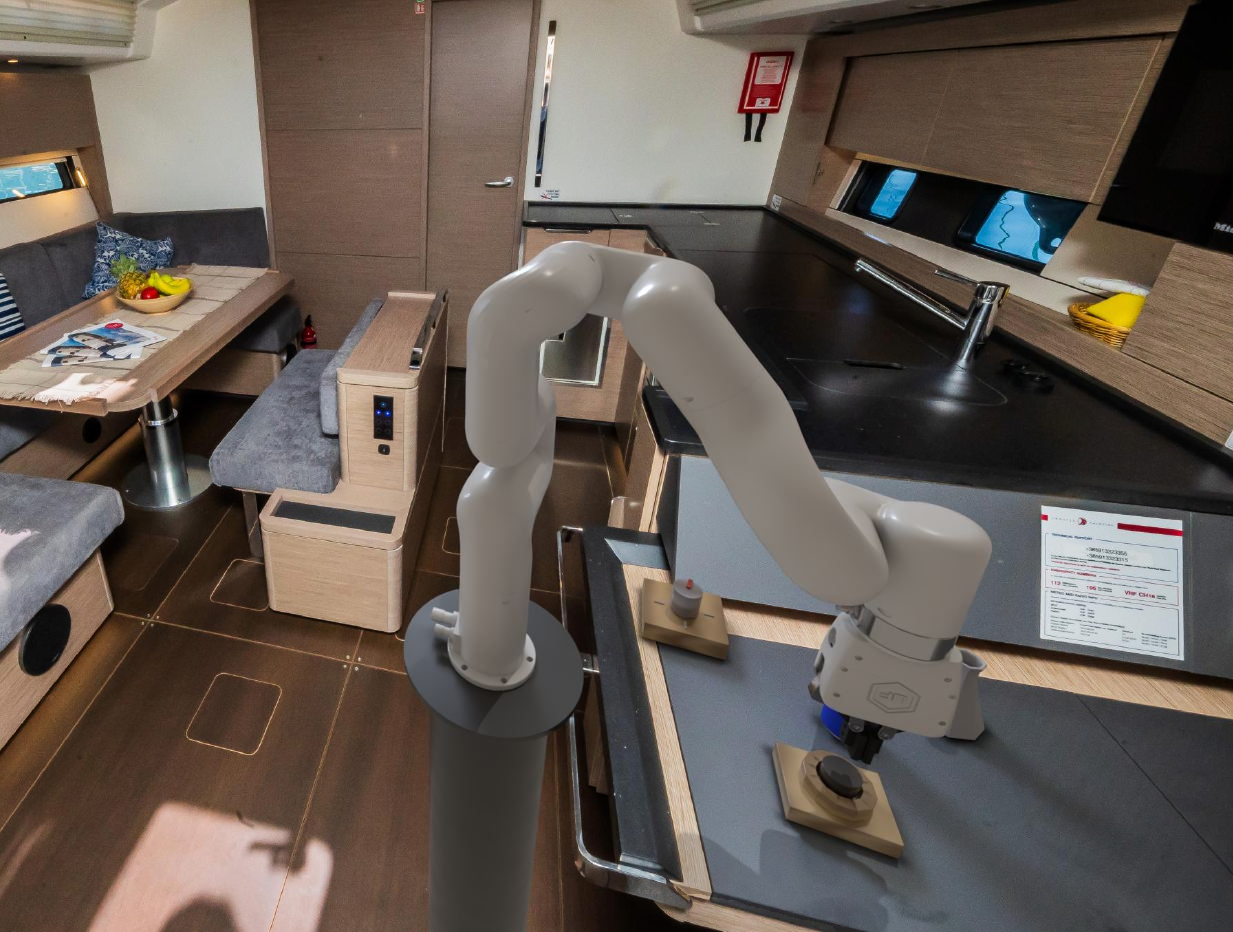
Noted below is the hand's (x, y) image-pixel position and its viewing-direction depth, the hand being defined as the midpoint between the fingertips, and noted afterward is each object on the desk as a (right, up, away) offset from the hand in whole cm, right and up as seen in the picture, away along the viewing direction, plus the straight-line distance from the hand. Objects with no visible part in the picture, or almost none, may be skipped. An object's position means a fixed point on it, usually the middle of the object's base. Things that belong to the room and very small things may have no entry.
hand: (855, 749), depth 64 cm
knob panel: (-4, +1, +28) cm, 28 cm away
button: (0, -5, +2) cm, 6 cm away
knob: (-4, +4, +27) cm, 27 cm away
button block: (0, -8, +3) cm, 9 cm away
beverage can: (+8, -5, +11) cm, 15 cm away
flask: (+22, -4, +12) cm, 26 cm away
